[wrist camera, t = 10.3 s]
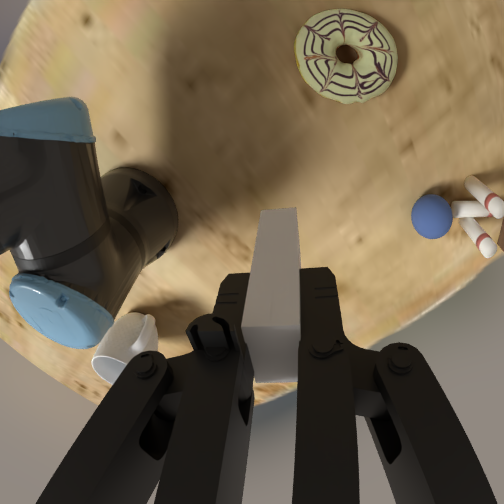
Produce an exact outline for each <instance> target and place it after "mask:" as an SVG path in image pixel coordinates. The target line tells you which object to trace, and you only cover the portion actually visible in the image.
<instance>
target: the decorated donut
mask: <svg viewBox="0 0 504 504" xmlns="http://www.w3.org/2000/svg"><path fill="white" fill-rule="evenodd" d="M344 44H345V45H349V46H350V47H352V48H354V49H355V51H356V53H357V56H358V58H357V60H355V61H354V63H353V64H349V63H342V62H340V61H339V59H338V58H337V56H336V50H337V49H338V47H340V46H342V45H344ZM294 53H295V58H296V63H297V67H298V69H299V72H300V74H301V76H302V77H303V79H304V81H305V82H306V83H307V84H308V85H309V86H311V87H312V88H313V89H314V90H315V91H316V92H317V93H318V94H319V95H321V96H323V97H325V98H329V99H332V100H335V101H337V102H341V103H343V104H351V103H354V102H360V103H364V102H366V101H367V100H369V99H370V98H373V97H376V96H379V95H380V94H382V93H383V92H385V91H386V89H387V88H388V87H389V86H390V84H391V82H392V80H393V78H394V76H395V74H396V69H397V60H398V56H397V49H396V45H395V42H394V39H393V37H392V36H391V34H390V33H389V32H388V30H387V29H386V28H385V27H384V26H383V25H382V24H381V23H380V22H378V21H377V20H375V19H374V18H373V17H371V16H369V15H367V14H364V13H361V12H358V11H354V10H350V9H332V10H326V11H323V12H321V13H318V14H315V15H314V16H312V17H311V18H310V19H309V20H308V21H306V23H305V24H304V25H303V26H302V28H301V29H300V31H299V32H298V34H297V36H296V39H295V42H294Z"/></svg>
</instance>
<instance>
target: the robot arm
mask: <svg viewBox="0 0 504 504" xmlns="http://www.w3.org/2000/svg"><path fill="white" fill-rule="evenodd" d="M95 142H96V138H95V136H93V131H92V127H91V122H90V116H89V111H88V108H87V105H86V104H85V103H84V102H83V101H82V100H81V99H79V98H76V97H65V98H58V99H52V100H46V101H40V102H35V103H30V104H25V105H20V106H16V107H12V108H7V109H4V110H0V255H1V254H3V253H4V252H6V251H8V250H10V252H11V254H12V256H13V258H14V261H15V263H16V266H17V268H18V270H19V273H18V274H17V275H15V276H14V277H13V278H12V282H11V284H10V291H9V295H10V298H11V301H12V303H13V305H14V307H15V308H16V310H17V311H18V312H19V314H20V315H21V316H22V317H23V318H24V319H25V321H27V322H28V323H29V324H30V325H31V326H32V327H33V328H34V329H36V330H37V331H38V332H40V333H41V334H43V335H44V336H46V337H47V338H49V339H51V340H53V341H55V342H57V343H59V344H61V345H64V346H67V347H71V348H76V349H88V348H92V347H94V346H96V345H97V344H98V343H100V342H101V340H102V339H103V337H104V336H105V334H106V333H107V331H108V330H109V328H110V327H112V326H113V324H114V319H115V317H116V315H117V314H118V312H119V310H120V308H121V306H122V304H123V302H124V300H125V299H126V297H127V295H128V293H129V291H130V290H131V288H132V286H133V284H134V282H135V281H136V279H137V277H138V276H139V274H140V272H141V270H142V269H143V268H145V267H146V266H148V265H149V264H151V263H152V262H154V261H155V260H157V259H158V258H160V257H161V256H162V255H163V254H164V253H165V252H166V251H167V250H168V248H169V247H170V245H171V243H172V241H173V240H174V238H175V236H176V233H177V228H178V215H177V210H176V207H175V204H174V201H173V199H172V198H171V196H170V194H169V193H168V191H167V190H166V189H165V187H164V186H163V185H162V184H161V183H160V182H159V181H157V180H156V179H155V178H153V177H152V176H150V175H149V174H147V173H145V172H142V171H140V170H136V169H131V168H119V169H115V170H112V171H109V172H107V173H106V174H104V175H103V176H102V177H100V172H99V166H98V161H97V155H96V149H95ZM186 334H187V336H188V338H189V340H190V343H191V345H192V347H193V349H194V351H192V352H190V353H188V354H185V355H181V356H177V357H173V358H168V359H166V358H165V357H164V355H163V354H161V353H159V352H158V351H151V350H149V351H145V352H141V353H139V354H137V355H136V356H134V357H133V358H132V359H131V360H130V361H129V362H128V364H127V365H126V367H125V368H124V369H123V371H122V372H121V374H120V375H119V377H118V378H117V380H116V381H115V382H114V384H113V385H112V387H111V388H110V390H109V391H108V393H107V394H106V396H105V397H104V398H103V400H102V401H101V403H100V404H99V406H98V407H97V409H96V410H95V412H94V413H93V415H92V416H91V418H90V419H89V421H88V422H87V424H86V425H85V427H84V428H83V430H82V431H81V433H80V434H79V436H78V437H77V439H76V441H75V442H74V443H73V445H72V446H71V448H70V450H69V451H68V453H67V454H66V456H65V457H64V459H63V461H62V462H61V464H60V465H59V467H58V468H57V470H56V471H55V473H54V475H53V477H52V478H51V479H50V481H49V483H48V484H47V486H46V487H45V489H44V491H43V492H42V494H41V496H40V497H39V499H38V500H37V502H36V504H147V502H148V500H149V498H150V496H151V494H152V493H153V491H154V489H155V487H156V485H157V483H158V481H159V480H160V481H159V485H158V489H157V493H156V497H155V501H154V504H242V496H243V489H244V488H243V487H244V481H245V473H246V465H247V457H248V449H249V441H250V433H251V432H250V431H251V424H252V415H253V407H254V391H253V388H252V387H253V379H254V378H255V381H256V383H275V382H298V384H297V421H296V444H295V463H294V464H295V465H294V482H293V496H292V504H360V500H359V465H358V445H357V430H356V417H355V415H359V416H364V417H365V420H366V422H367V425H368V427H369V430H370V433H371V435H372V438H373V441H374V443H375V446H376V449H377V451H378V454H379V457H380V459H381V462H382V465H383V467H384V470H385V473H386V476H387V478H388V481H389V484H390V487H391V490H392V493H393V495H394V498H395V501H396V504H497V501H496V499H495V496H494V494H493V492H492V489H491V487H490V484H489V482H488V480H487V477H486V475H485V473H484V471H483V468H482V466H481V464H480V462H479V460H478V458H477V455H476V454H475V451H474V449H473V447H472V445H471V443H470V441H469V439H468V437H467V435H466V433H465V431H464V429H463V427H462V425H461V423H460V421H459V419H458V417H457V416H456V413H455V412H454V410H453V408H452V406H451V404H450V402H449V400H448V399H447V397H446V395H445V393H444V391H443V390H442V388H441V386H440V384H439V382H438V381H437V379H436V377H435V375H434V374H433V372H432V370H431V369H430V367H429V365H428V363H427V362H426V360H425V358H424V357H423V355H422V354H421V353H420V352H419V351H418V349H417V348H415V347H413V346H411V345H410V344H406V343H400V342H399V343H393V344H389V345H388V346H386V347H384V348H383V349H382V350H381V351H380V352H378V351H373V350H367V349H363V348H360V347H358V346H356V345H354V344H352V343H351V342H350V341H349V340H348V339H347V337H346V336H345V334H344V331H343V325H342V318H341V311H340V305H339V298H338V292H337V285H336V279H335V275H334V274H333V273H332V272H331V270H330V269H329V268H328V267H319V268H304V269H301V258H300V245H299V233H298V221H297V210H296V207H295V208H282V209H269V210H261V213H260V219H259V225H258V231H257V237H256V243H255V248H254V254H253V260H252V266H251V272H250V273H235V274H228V275H227V277H226V278H225V279H224V280H223V281H222V282H221V284H220V288H219V292H218V296H217V299H216V304H215V306H214V310H213V313H212V314H205V315H203V316H200V317H198V318H196V319H195V320H194V321H193V322H191V323H190V324H189V326H188V327H187V329H186Z"/></svg>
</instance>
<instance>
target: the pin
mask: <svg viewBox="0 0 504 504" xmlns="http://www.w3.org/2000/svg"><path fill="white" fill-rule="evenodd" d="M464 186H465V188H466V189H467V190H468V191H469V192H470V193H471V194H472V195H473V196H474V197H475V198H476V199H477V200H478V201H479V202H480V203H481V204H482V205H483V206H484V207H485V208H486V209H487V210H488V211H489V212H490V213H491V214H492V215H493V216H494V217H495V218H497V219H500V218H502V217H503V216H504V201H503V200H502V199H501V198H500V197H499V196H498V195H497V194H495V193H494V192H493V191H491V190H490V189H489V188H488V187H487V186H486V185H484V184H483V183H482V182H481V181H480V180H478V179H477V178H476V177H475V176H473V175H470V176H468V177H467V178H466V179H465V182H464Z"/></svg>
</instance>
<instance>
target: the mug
mask: <svg viewBox="0 0 504 504" xmlns="http://www.w3.org/2000/svg"><path fill="white" fill-rule="evenodd" d="M149 350H151V351H158V332H157V328H156V325H155V318H154V317H153V316H152V315H149V314H147V315H144V314H141V313H137V312H132V313H128V314H126V315H124V316H122V317H121V318H119V319H118V320H117V321H115V322H114V324H113V326H112V327H110V328H109V330H108V331H107V333H106V334H105V336H104V337H103V339H102V340H101V342H100V344H99V346H98V348H97V350H96V352H95V354H94V356H93V358H92V367H93V369H94V370H95V372H96V373H97V374H98V375H99V376H100V377H101V378H103V379H104V380H105V381H107V382H108V383H110V384H112V385H113V384H114V382H115V381H116V380H117V378H118V377H119V375H120V374H121V372H122V371H123V369H124V368H125V367H126V365H127V364H128V362H129V361H130V360H131V359H132V358H133V357H134V356H136V355H137V354H139V353H141V352H145V351H149Z"/></svg>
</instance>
